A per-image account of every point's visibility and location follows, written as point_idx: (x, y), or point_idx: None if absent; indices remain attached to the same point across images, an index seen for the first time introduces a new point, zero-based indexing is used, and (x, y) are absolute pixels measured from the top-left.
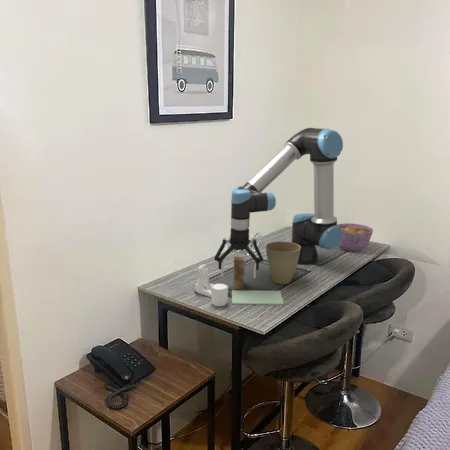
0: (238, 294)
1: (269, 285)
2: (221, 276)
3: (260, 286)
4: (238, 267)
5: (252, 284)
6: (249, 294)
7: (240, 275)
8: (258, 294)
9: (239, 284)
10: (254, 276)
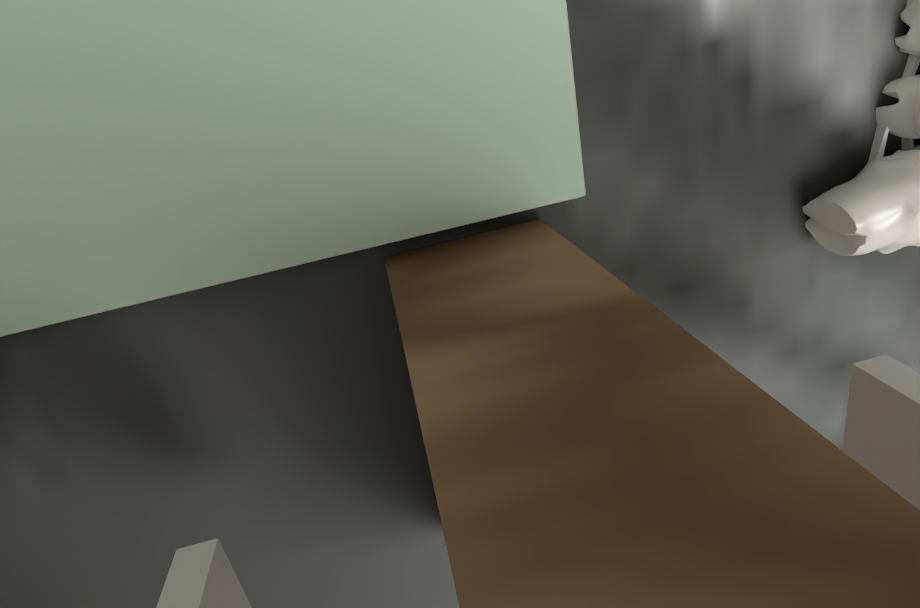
0: (443, 29)
1: (33, 577)
2: (895, 367)
3: (163, 504)
4: (753, 565)
5: (306, 526)
6: (228, 82)
7: (526, 385)
8: (40, 125)
9: (483, 279)
10: (193, 576)
